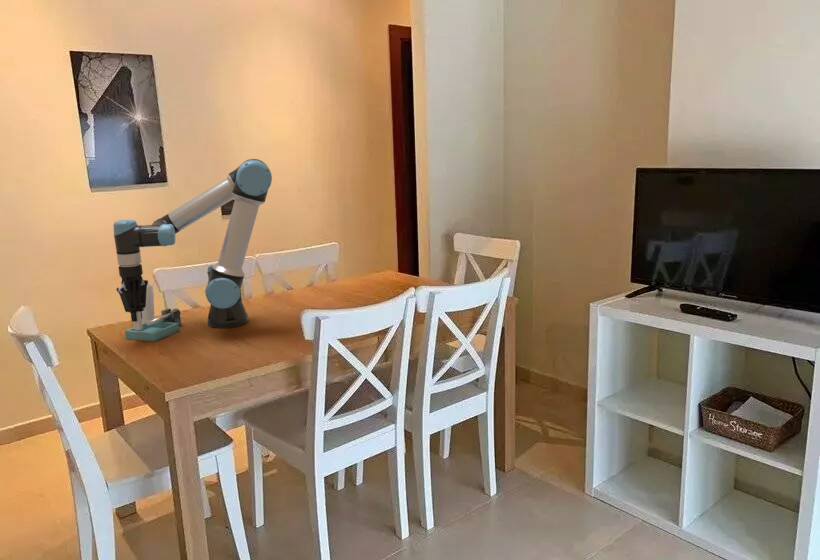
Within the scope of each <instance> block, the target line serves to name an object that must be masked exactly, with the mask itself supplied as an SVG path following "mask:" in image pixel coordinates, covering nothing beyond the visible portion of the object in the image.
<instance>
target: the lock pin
mask: <svg viewBox="0 0 820 560" xmlns="http://www.w3.org/2000/svg"><path fill="white" fill-rule="evenodd" d="M176 309H178V310H180V309H179V308H174V309H172V310H171V311H173V310H176ZM170 318H171V316H170V313H168V314H165V315H163V316H162V315H161V316H158V317H156V318H155V319H153V320H151V321H148V322H146V323H145V325H146V327H150V326H153V325H155V324H158V323H160V322H162V321H165V320H167V319H170Z"/></svg>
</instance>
